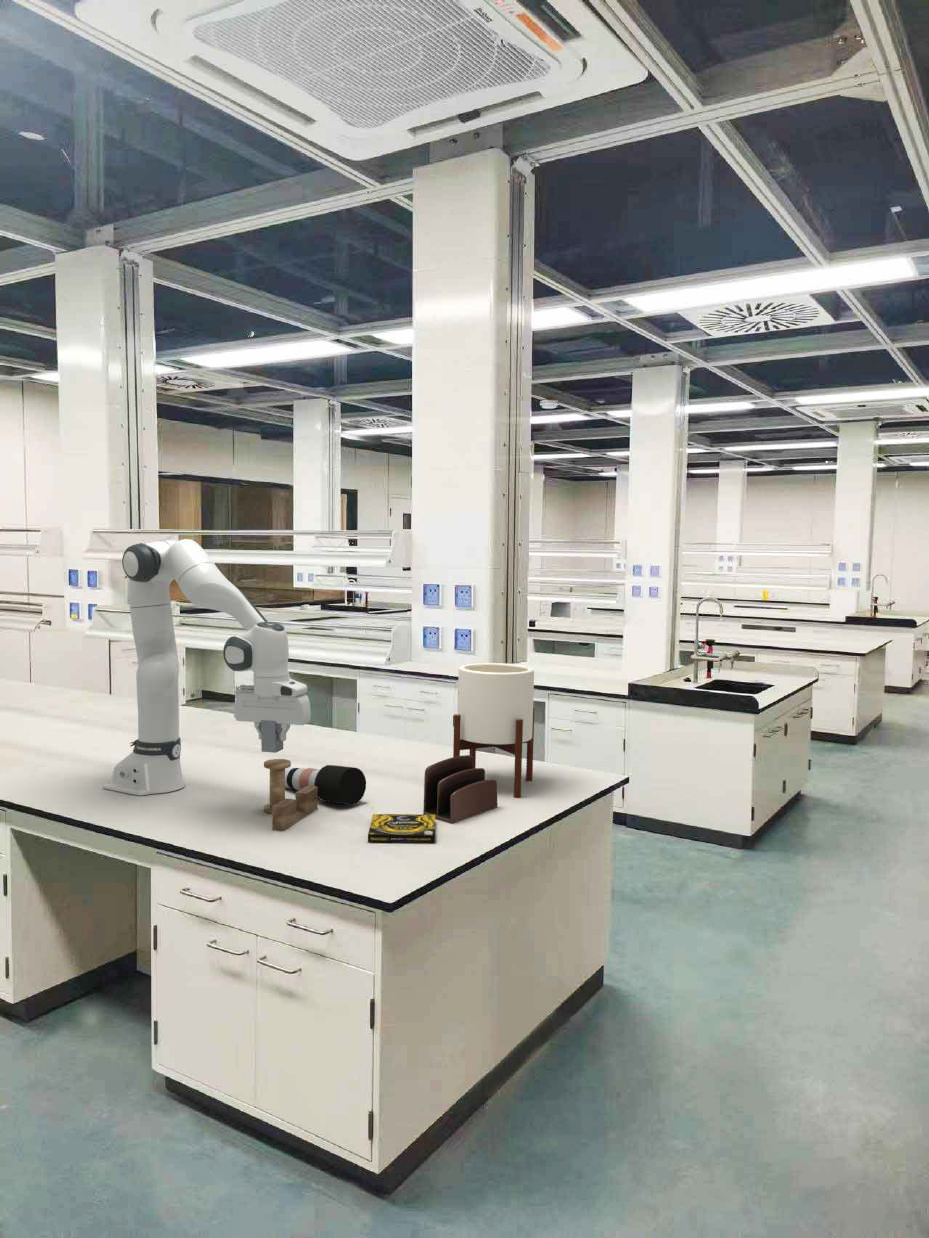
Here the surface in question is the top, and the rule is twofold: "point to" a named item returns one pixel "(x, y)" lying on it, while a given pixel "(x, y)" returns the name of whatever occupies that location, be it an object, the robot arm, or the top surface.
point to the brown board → (294, 808)
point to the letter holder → (457, 790)
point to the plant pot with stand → (496, 712)
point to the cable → (329, 782)
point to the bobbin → (276, 781)
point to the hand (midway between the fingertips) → (272, 739)
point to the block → (270, 736)
